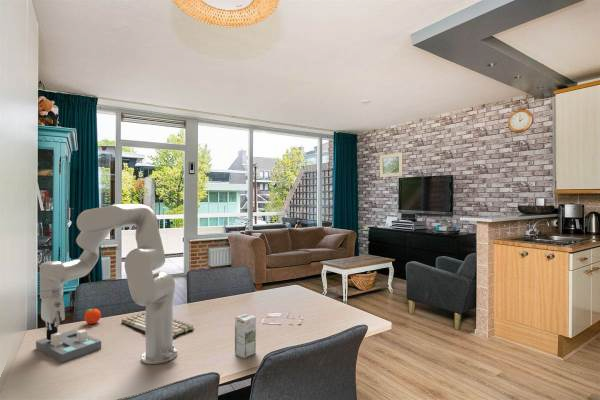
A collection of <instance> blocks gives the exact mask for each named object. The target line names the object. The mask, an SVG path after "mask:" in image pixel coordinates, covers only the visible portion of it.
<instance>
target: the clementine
mask: <svg viewBox="0 0 600 400" xmlns="http://www.w3.org/2000/svg"><path fill="white" fill-rule="evenodd" d="M84 313H85V314H84ZM82 314H84V316H83V319H84V321H85V322H86V324H90V325H94V324H96V323H98V322H99V321H100V320H101V317H102V312H101V310H99V308H89V309H86V310H85V311H84V312H83V313H82Z"/></svg>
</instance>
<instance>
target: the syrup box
mask: <svg viewBox="0 0 600 400" xmlns="http://www.w3.org/2000/svg"><path fill="white" fill-rule="evenodd" d="M256 321H257V317H256V316H254V315H252V314H250V313H245V314H241V315H239V316H236V317H235V319H234V355H235V356H238V357H240V358H242V359H246V358H249V357H251V356H253V355H255V354H256V349H257V347H256V341H257V340H256V338H257V337H256V336H257V332H256V331H257V322H256Z"/></svg>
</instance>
